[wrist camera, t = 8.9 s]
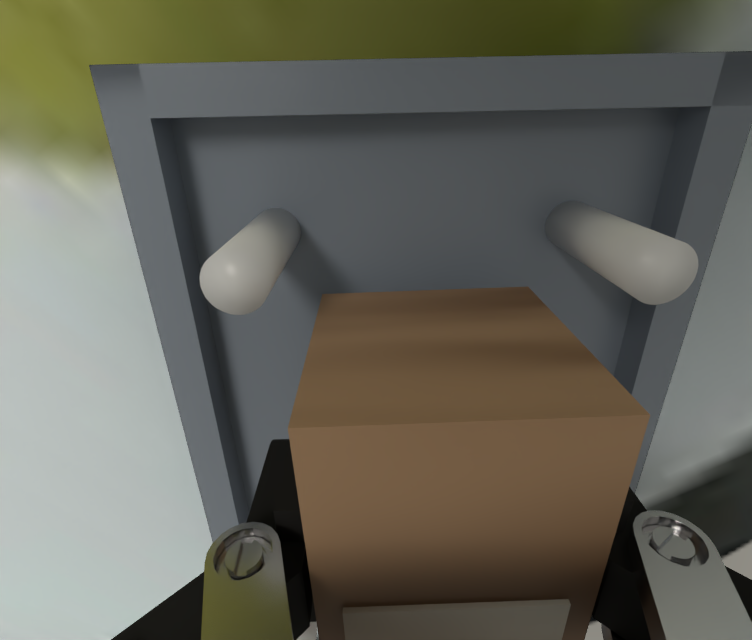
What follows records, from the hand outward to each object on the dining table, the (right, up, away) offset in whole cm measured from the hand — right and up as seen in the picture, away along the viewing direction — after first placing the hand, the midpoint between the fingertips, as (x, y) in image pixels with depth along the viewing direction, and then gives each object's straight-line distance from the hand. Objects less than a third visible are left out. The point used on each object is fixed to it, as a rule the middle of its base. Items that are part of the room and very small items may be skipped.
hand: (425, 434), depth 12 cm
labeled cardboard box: (0, 0, 0) cm, 1 cm away
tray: (0, +1, +3) cm, 3 cm away
